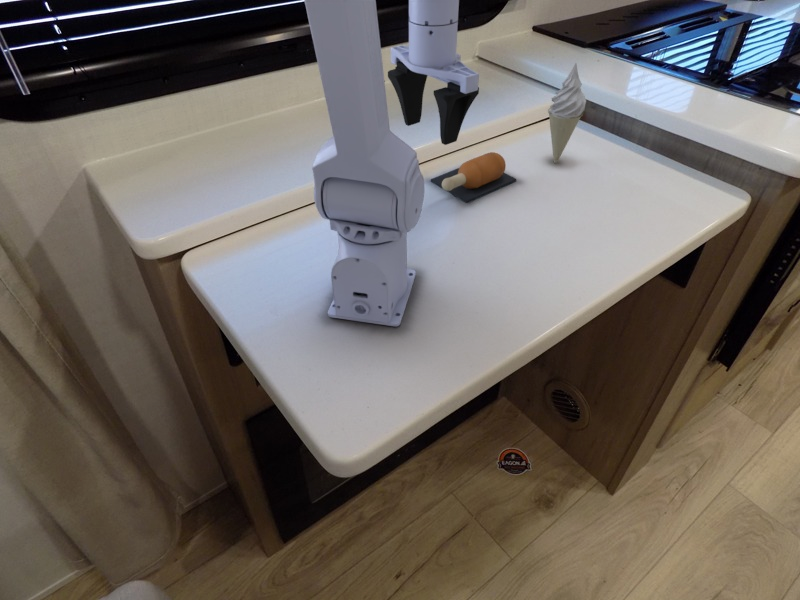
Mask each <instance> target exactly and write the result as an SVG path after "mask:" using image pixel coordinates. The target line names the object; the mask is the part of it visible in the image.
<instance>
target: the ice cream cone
mask: <svg viewBox="0 0 800 600" xmlns="http://www.w3.org/2000/svg"><path fill="white" fill-rule="evenodd" d="M561 84H562V87H561V88H560V89H559V90H557V91H555V94H556V95H555V96H553V97H551V102H552V104H550V106H549V108H548V109H547V113H548V117H549V119H548V120H549V128H550V137H551V147H552V158H553V163H554V164H557V163H558V162H559V160H560V158H561V156H562V155H563V152H564V150H565V149H566V146H567V145H568V143H569V141H570V139H571V136H572V135H573V133H574V131H575V129H576V127H577V125H578V123H579V121H580V119H581V117H583V115H584V112H585V107H586V104H587V99H586V96H585V94H584V93H583V91H582V88H581V87H582V85H583V83H582V81H581V79H580V76H579V72H578V64H577V63H574V66H573V67H572V69H571V70H570V72H569V73H568V75H567V77H566V78H565V80H564V81H563V82H562V83H561Z"/></svg>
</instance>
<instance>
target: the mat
mask: <svg viewBox="0 0 800 600" xmlns="http://www.w3.org/2000/svg"><path fill="white" fill-rule="evenodd" d="M459 168H460V167H458V168H455V169H453V170H450V171H448V172H445V173H443V174H441V175H438V176H434V177H433V178H431V179H430V182H431V183H432V184H434V185H436V186H437V187H439V188H440V189H442V190H444V189H443V188H442V181H443V180H444V179H445V178H450V177H452V176H455V175H457V174H458V171H459ZM515 182H517V178H516V177H513V176H511V175H510V174H507V173H506V172H504V173H503V175H502V176H501V177H500V178H498V179H496V180H494V181H491V182H489V183H487V184H484V185H482V186H480V187H478V188H475V189H468V188H465V187H464V186H462V185H461V186H458V187H456V188H453V189H452V190H451V191H446V192H447V193H449V194H451V195H453V196H454V197H456V198H458V199H459V200H461V201H463V202H464V203H466V204H468V203H470V202H473V201H475V200H477V199H479V198H481V197H484V196H486V195H489V194H490V193H493V192H495V191H498V190H500V189H502V188H505V187H507V186H509V185H511V184H513V183H515Z"/></svg>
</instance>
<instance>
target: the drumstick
mask: <svg viewBox="0 0 800 600" xmlns="http://www.w3.org/2000/svg"><path fill="white" fill-rule="evenodd" d="M458 168H459V171H458V174H457V175H455V176H452V177H450V178H445V179H444V180H443V181H442V188H443V189H442V188H441V189H442V190H443V191H446V192H447V191H451V190H452V189H453V188H456V187H458V186H461V185H462V186H464V187H465V188H468V189H475V188H478V187H480V186H482V185H484V184H487V183H489V182H491V181H494V180H496V179H498V178H500V177H501V176H502V175H503V173H505V171H506V168H507V167H506V160H505V158H504V157H503V156H502V155H501V154H500V153H498V152H496V151H495V152H494V151H493V152H492V151H491V152H487V153H484V154H481V155H479V156H477V157H474V158H472V159H469V160H467V161H465V162H463V163H462V164H461V165H460V167H458Z"/></svg>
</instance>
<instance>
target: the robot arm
mask: <svg viewBox="0 0 800 600" xmlns="http://www.w3.org/2000/svg"><path fill="white" fill-rule="evenodd" d="M304 5H305V9H306V14H307V19H308V24H309V29H310V33H311V39H312V44H313V48H314V52H315V57H316V61H317V66H318V70H319V71H318V72H319V75H320V81H321V84H322V89H323V93H324V99H325V104H326V108H327V113H328V117H329V122H330V127H331V132H332V137H331V138H328V140H326V141H325V142H324V143H323V144H322V145H321V147H320V148H319V150H318V151H317V153H316V156H315V158H314V161H313V164H312V166H311V171H312V174H313V200H314V205H315V207H316V210H317V212H318V214H319V216H320V217H321V218H322V219H324V220H329V227H330V230H331V231H335V232H336V233H337V244H338V249H337V254H336V257H335V260H334V263H333V265H332V267H331V272H330V280H331V286H332V294H333V295H332V296H333V300H332V302H331V304H330V306H329V307H328V310H327V316H328V317H329V318H334V319H341V320H347V321H353V322H354V321H355V322H362V323H367V324H368V323H369V324H375V325H383V326H389V327H399V326H400V325H401V323H402V320H403V316H404V313H405V311H406V307H407V304H408V301H409V298H410V295H411V293H412V292H411V291H412V288H413V286H414V282H415V279H416V276H417V271H416V270H415V269H411V268H408V237H407V236H408V233H409V232H411V231H412V230H413V229H414V228H415V227H416V226H417V224H418V222H419V219H420V217H421V214H422V210H423V205H424V199H425V179H424V176H423V174H422V172H421V168H420V162H419V159H418V152H417V151H416V150H415V149H414V148H413V147H411V145H409V144H408V143H407V142H406V141H404V140H403V139H401V138H400V137H399V136H397V134H395V133H394V132H393V131H392V130H391V129H390V128H391V127H390V119H389V110H388V109H389V108H388V100H387V91H386V82H385V74H384V73H385V72H384V65H383V64H384V63H383V56H382V46H381V38H380V28H379V20H378V19H379V18H378V11H377V1H376V0H304ZM459 6H460V0H408V46H407V45H403V44H401V45H397V46H393V47H390V63H391V64H392V65H394V66H395V65H396V66H395V67H394V68H393V69H390V70H388V71H387V78H388V79H389V82H390V83H391V85H392V86H393V88H394V91H395V93H396V96H397V99H398V102H399V105H400V109H401V112H402V118H403V121H404V124H405V126H408V127H409V126H413V125H416V124H419V123H421V118H422V113H423V99H424V91H425V87H426V82H427V79H428V77H430V78H433V79H435V80H438V81H440V82H442V83H445V84H447V85H446V87H442V88H437V89H435V90H433V97H434V99H435V102H436V105H437V109H438V114H439V127H440V128H439V130H440V131H439V135H440V142H441V144H442V145H444V146H448V145H450V144H454V143H455V142H457V141H458V137H459V135H460V131H461V128H462V125H463V122H464V120H465V118H466V115H467V113H468V111H469V109H470V107H471V106H472V104H473V102H474V101H475V99H476V98H477V96H478V95H479V93H480V87H479V84H480V83H479V79H480V72H477V71H474V70H473V69H471V68H469V67H468V66H467V65H466V64H465V63H463V62H462V60H461V58H462V55H461V54H460V53H457V47H458V45H457V44H458V25H459Z"/></svg>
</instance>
